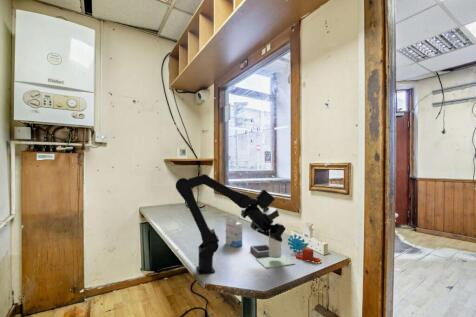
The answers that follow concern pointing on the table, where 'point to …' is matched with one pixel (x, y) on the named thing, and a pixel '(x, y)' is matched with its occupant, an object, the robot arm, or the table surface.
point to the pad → (274, 261)
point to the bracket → (307, 255)
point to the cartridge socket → (260, 250)
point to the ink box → (233, 232)
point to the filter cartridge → (274, 247)
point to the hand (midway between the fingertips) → (277, 239)
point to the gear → (297, 244)
